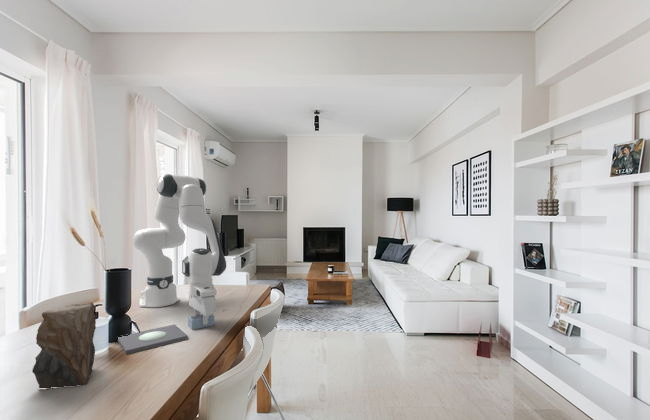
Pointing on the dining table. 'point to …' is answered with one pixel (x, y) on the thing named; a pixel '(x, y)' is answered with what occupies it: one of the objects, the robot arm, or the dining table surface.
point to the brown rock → (65, 346)
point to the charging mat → (151, 338)
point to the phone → (199, 321)
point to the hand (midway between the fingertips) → (201, 321)
